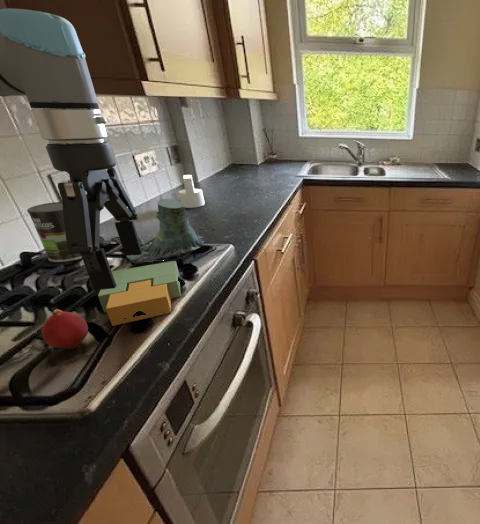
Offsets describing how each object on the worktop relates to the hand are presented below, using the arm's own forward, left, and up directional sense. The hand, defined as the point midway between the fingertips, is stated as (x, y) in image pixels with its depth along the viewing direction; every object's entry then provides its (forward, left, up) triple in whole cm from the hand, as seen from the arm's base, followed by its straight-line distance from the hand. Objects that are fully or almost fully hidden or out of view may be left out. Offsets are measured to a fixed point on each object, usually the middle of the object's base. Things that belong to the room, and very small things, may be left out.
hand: (121, 269), depth 58 cm
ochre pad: (0, +9, -13) cm, 15 cm away
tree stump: (+5, +39, -13) cm, 41 cm away
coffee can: (-19, +49, -13) cm, 54 cm away
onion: (-10, -1, -13) cm, 17 cm away
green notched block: (0, +16, -13) cm, 21 cm away
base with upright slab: (+14, +92, -13) cm, 94 cm away
